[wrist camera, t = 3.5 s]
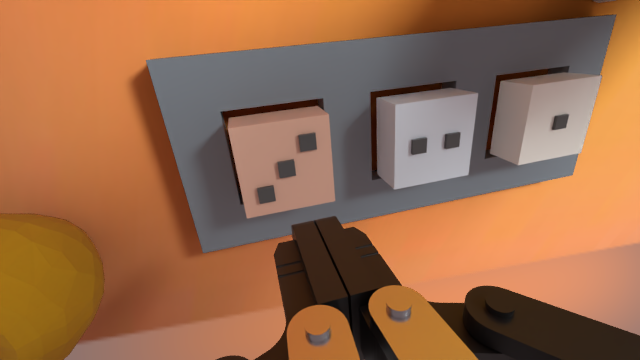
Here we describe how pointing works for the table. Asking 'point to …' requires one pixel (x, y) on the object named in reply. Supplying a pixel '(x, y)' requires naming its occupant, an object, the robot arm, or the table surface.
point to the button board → (356, 114)
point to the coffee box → (602, 1)
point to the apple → (45, 286)
